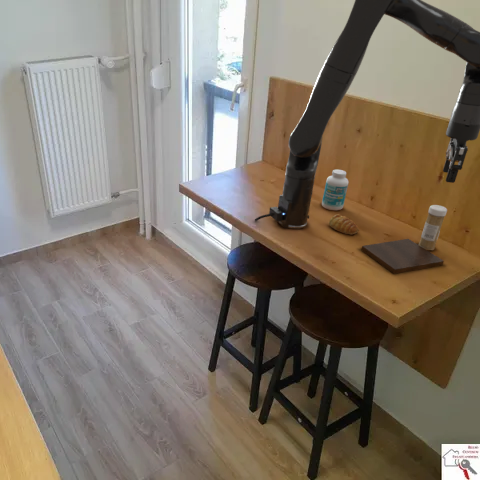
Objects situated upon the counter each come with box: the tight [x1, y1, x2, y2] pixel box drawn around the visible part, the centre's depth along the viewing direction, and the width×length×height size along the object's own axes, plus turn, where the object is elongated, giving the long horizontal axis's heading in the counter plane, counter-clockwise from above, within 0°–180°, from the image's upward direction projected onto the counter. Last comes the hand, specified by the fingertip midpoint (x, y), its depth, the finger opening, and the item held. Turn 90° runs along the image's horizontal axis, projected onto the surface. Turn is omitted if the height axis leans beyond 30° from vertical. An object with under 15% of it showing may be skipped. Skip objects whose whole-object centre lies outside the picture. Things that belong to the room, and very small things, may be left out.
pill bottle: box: [321, 169, 350, 211], centre depth 168 cm, size 8×7×14 cm
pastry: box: [328, 214, 360, 235], centre depth 154 cm, size 9×7×4 cm
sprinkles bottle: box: [418, 204, 448, 251], centre depth 142 cm, size 5×5×14 cm
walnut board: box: [360, 238, 445, 275], centre depth 139 cm, size 17×14×2 cm
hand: (448, 177), depth 134 cm, fingers open, 8 cm apart
